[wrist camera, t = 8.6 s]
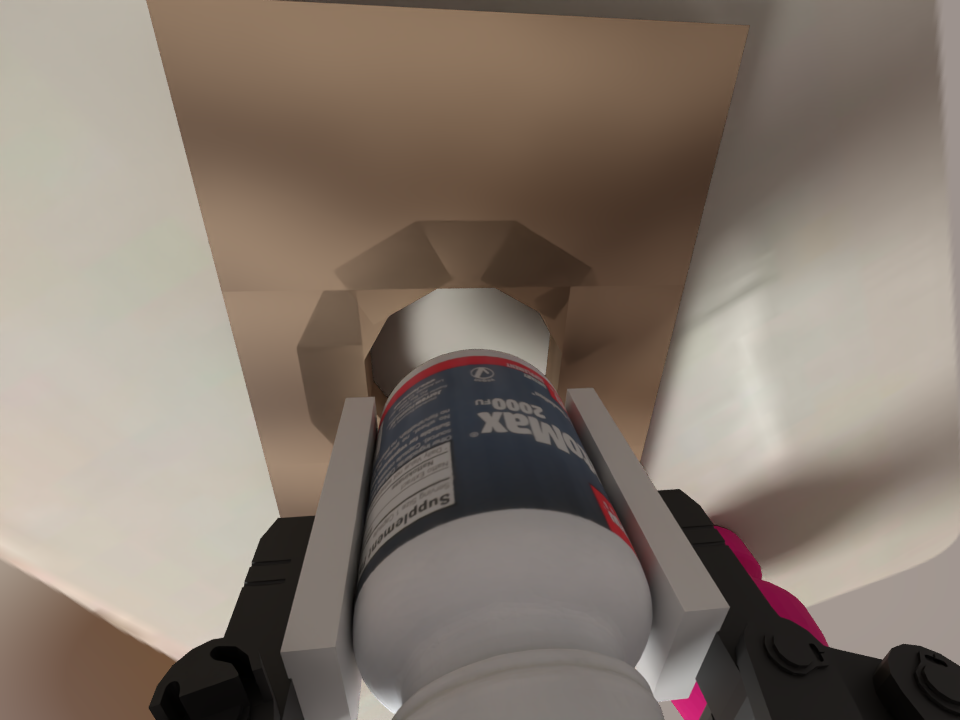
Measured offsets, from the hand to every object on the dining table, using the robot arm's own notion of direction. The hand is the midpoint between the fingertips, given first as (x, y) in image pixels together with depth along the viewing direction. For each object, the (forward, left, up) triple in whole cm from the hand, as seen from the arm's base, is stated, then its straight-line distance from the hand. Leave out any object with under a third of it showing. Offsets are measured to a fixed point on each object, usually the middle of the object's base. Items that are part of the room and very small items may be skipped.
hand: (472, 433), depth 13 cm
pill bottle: (0, 0, 0) cm, 1 cm away
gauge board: (0, 0, -4) cm, 4 cm away
